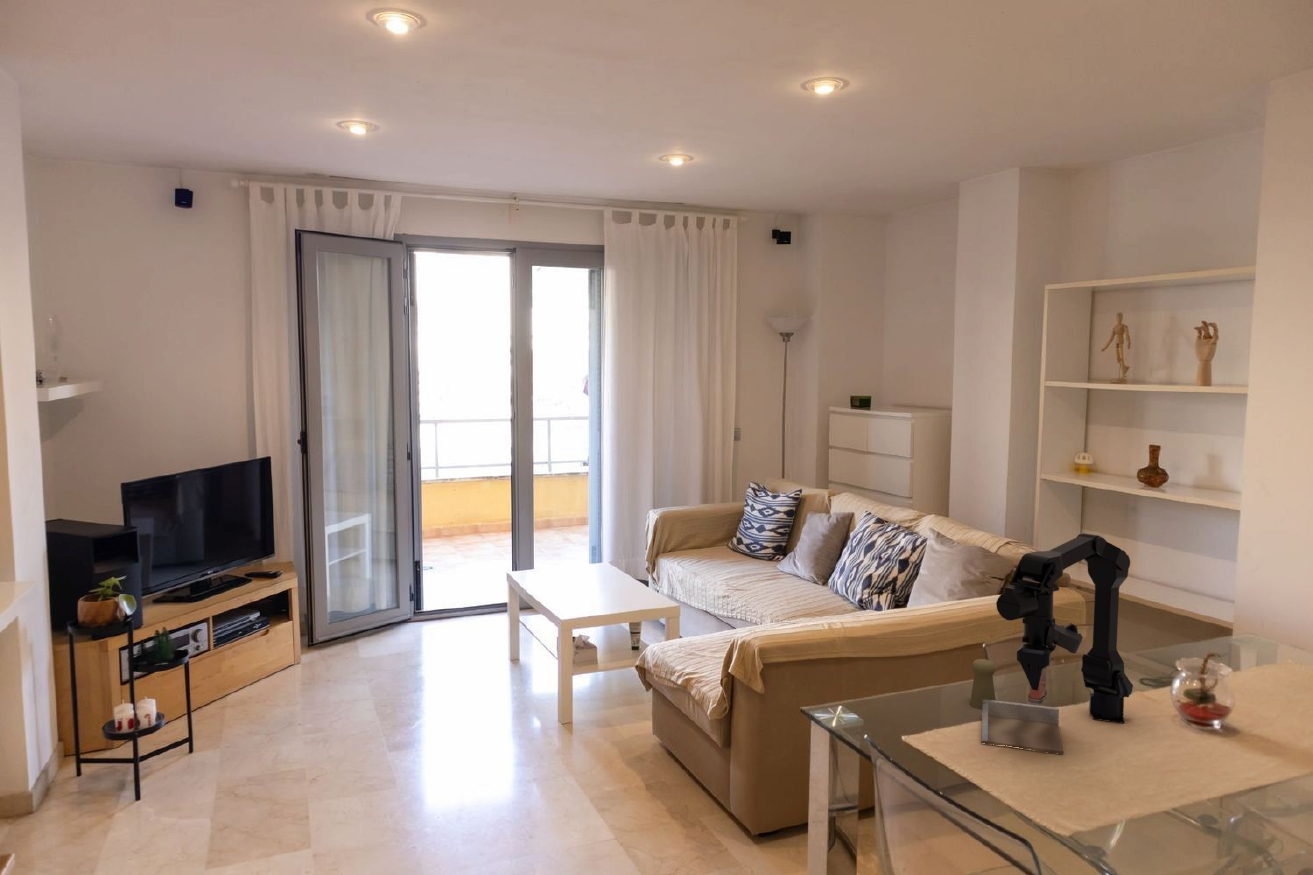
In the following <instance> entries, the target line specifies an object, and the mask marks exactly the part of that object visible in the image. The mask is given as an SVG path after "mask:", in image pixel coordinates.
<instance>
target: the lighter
mask: <svg viewBox="0 0 1313 875" xmlns="http://www.w3.org/2000/svg"><path fill="white" fill-rule="evenodd" d="M1047 669H1048V666H1046V667H1045V668H1043V670H1042V674H1041V679H1040V683H1039V688H1038V690H1032V688H1031V686H1030V683H1029V682H1028V683H1029V685H1028V688H1029V689H1028V693H1027V694H1028V696H1027V700H1028V703H1030V704H1032V705H1041V704H1043V703H1045V701H1046V700H1047V695H1048V692H1047V691H1048V690H1047Z"/></svg>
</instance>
